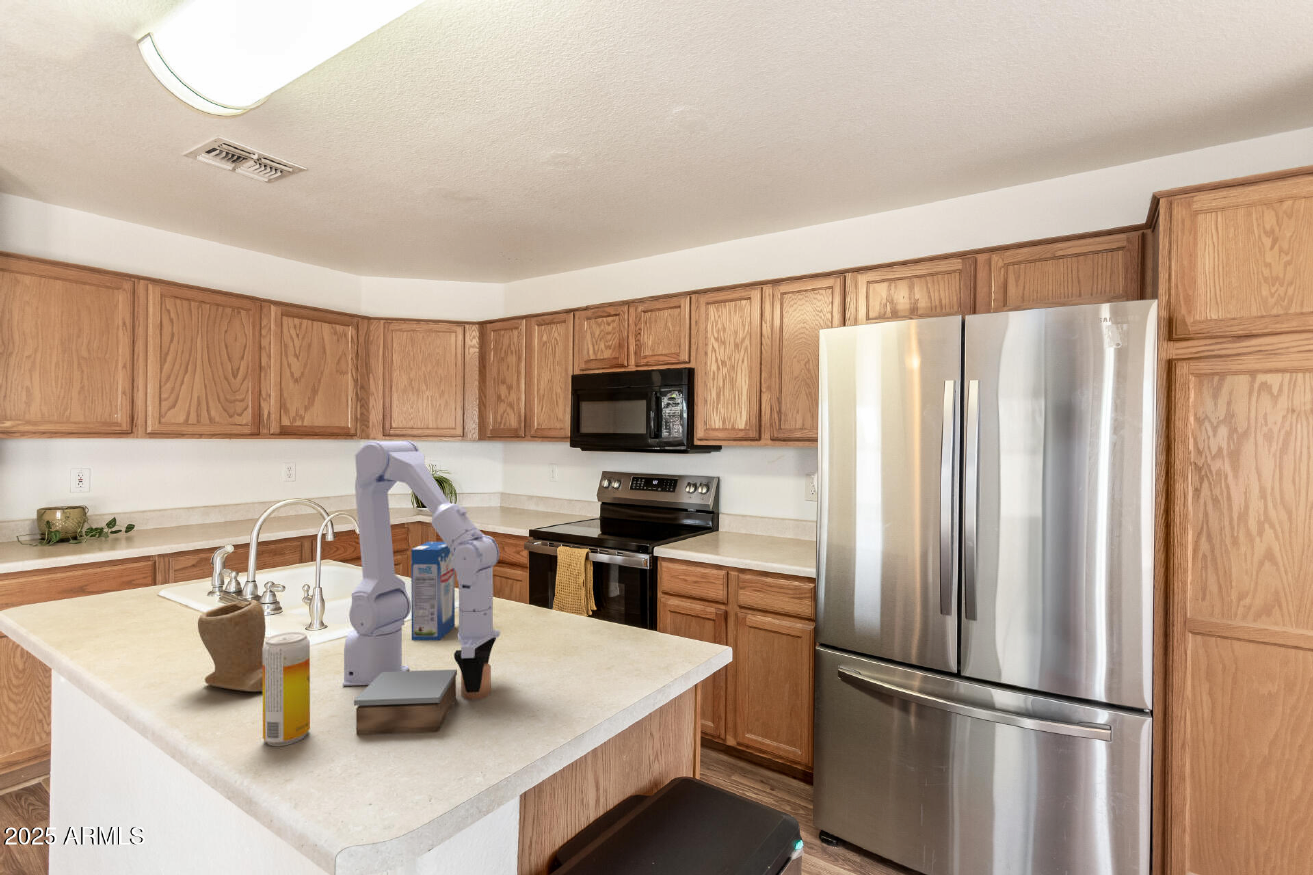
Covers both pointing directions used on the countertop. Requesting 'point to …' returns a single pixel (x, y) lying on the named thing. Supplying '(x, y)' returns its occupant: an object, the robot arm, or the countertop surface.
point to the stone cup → (235, 644)
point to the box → (404, 716)
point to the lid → (407, 687)
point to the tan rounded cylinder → (485, 685)
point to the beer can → (286, 688)
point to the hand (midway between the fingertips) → (476, 685)
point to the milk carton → (432, 591)
